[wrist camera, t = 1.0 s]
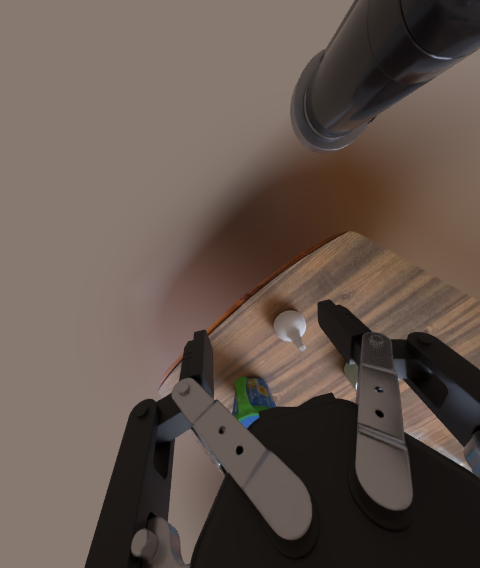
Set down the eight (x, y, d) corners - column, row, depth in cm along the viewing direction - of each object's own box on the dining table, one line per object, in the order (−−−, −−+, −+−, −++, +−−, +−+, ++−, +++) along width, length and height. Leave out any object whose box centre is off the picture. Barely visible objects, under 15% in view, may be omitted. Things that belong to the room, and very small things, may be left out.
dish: (348, 348, 44) (362, 365, 39) (387, 349, 44) (405, 365, 40) (338, 379, 47) (350, 398, 42) (375, 380, 47) (391, 398, 43)
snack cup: (219, 368, 44) (216, 412, 34) (265, 356, 43) (275, 397, 34) (239, 415, 49) (241, 464, 40) (280, 405, 49) (292, 452, 39)
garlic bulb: (284, 302, 39) (297, 324, 32) (308, 316, 40) (326, 341, 33) (266, 325, 41) (274, 351, 33) (289, 339, 42) (302, 367, 35)
